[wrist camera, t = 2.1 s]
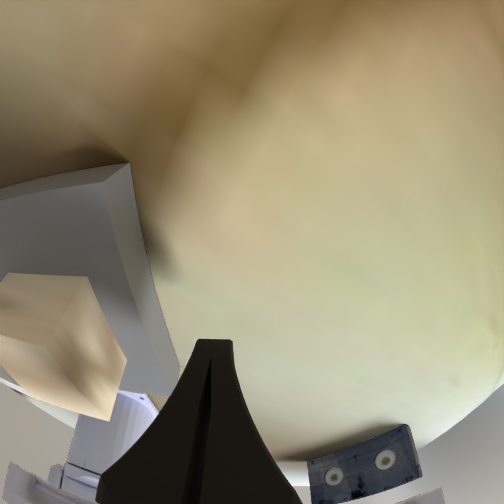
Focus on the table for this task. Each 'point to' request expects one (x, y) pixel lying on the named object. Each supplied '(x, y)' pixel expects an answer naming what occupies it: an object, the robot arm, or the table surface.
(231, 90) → the table surface
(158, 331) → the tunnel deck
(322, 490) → the vhs cassette tape
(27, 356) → the birch block
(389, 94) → the table surface
